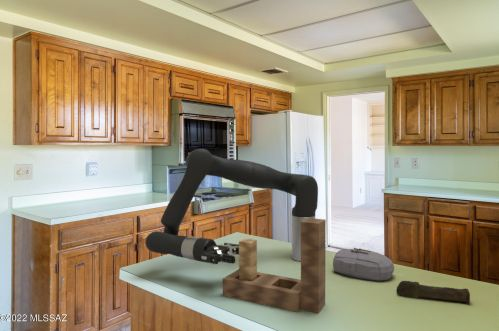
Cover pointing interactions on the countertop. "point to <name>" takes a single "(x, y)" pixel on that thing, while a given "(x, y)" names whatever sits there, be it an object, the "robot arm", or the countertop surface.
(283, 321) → the countertop surface
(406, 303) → the countertop surface
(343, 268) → the small grey backpack
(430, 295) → the hand tool
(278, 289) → the wooden peg socket stand
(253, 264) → the rail bar
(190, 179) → the robot arm
